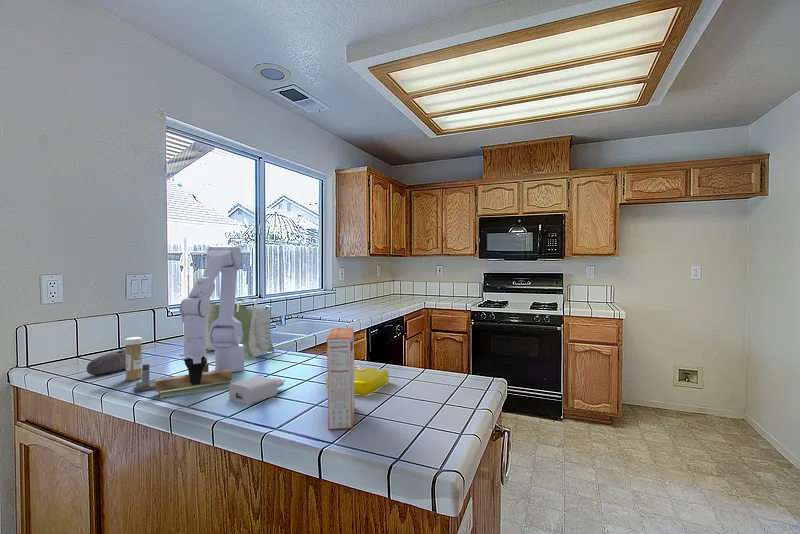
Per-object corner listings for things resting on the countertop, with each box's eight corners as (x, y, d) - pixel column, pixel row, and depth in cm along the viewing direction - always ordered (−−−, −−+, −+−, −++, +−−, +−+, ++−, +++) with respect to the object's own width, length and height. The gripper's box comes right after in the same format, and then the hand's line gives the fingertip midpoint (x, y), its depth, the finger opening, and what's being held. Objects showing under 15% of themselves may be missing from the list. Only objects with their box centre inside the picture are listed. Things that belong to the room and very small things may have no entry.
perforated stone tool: (90, 379, 126) (90, 358, 126) (81, 377, 128) (81, 356, 128) (138, 368, 139) (138, 349, 139) (129, 366, 142) (129, 347, 142)
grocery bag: (277, 351, 165) (277, 298, 165) (250, 358, 153) (250, 300, 153) (230, 344, 182) (229, 295, 182) (202, 349, 170) (201, 297, 170)
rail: (230, 378, 122) (230, 368, 122) (231, 380, 119) (231, 370, 119) (155, 389, 111) (155, 378, 111) (155, 392, 108) (155, 381, 108)
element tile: (323, 391, 114) (323, 375, 114) (349, 378, 127) (349, 363, 127) (368, 398, 108) (368, 381, 108) (390, 383, 121) (390, 368, 121)
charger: (293, 390, 114) (249, 406, 101) (273, 385, 119) (228, 399, 106) (293, 374, 114) (249, 388, 101) (273, 370, 119) (228, 382, 106)
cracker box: (331, 407, 100) (331, 327, 100) (355, 407, 100) (354, 326, 100) (325, 430, 86) (325, 337, 86) (353, 429, 86) (352, 336, 86)
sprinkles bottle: (142, 379, 125) (141, 338, 125) (124, 381, 123) (124, 339, 123) (142, 376, 129) (142, 336, 129) (125, 378, 126) (125, 337, 126)
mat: (229, 380, 124) (229, 379, 124) (233, 387, 117) (233, 385, 117) (159, 390, 113) (159, 389, 113) (159, 398, 107) (159, 397, 107)
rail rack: (211, 375, 130) (211, 356, 130) (214, 380, 124) (214, 360, 124) (136, 385, 118) (136, 364, 118) (135, 392, 112) (135, 370, 112)
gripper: (178, 335, 119) (178, 378, 119) (180, 342, 107) (181, 391, 107) (203, 332, 123) (203, 375, 123) (209, 340, 110) (209, 387, 110)
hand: (195, 382), depth 115 cm, fingers closed on rail, 3 cm apart
